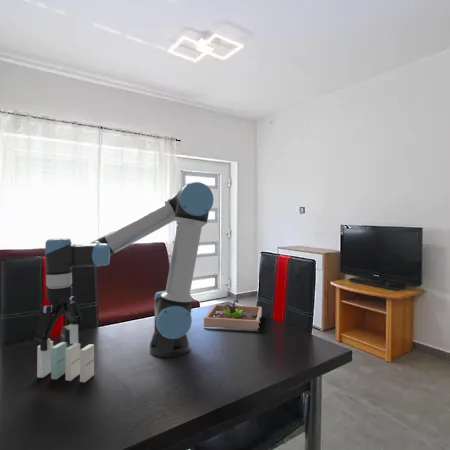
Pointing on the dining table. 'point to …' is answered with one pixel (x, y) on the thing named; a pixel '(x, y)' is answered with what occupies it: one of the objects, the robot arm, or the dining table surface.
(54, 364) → the domino
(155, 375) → the dining table surface
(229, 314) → the plant
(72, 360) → the domino
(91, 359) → the domino
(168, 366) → the dining table surface
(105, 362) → the dining table surface
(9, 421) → the dining table surface
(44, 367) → the end domino
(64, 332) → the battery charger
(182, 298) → the robot arm
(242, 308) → the planter corral
